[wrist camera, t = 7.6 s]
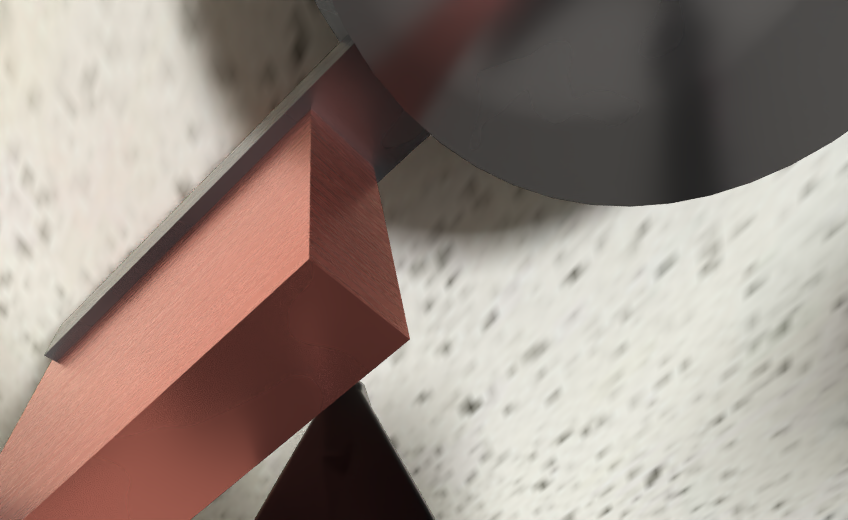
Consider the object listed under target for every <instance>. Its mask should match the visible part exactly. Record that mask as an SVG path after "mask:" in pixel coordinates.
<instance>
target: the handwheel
mask: <svg viewBox="0 0 848 520" xmlns="http://www.w3.org/2000/svg"><path fill="white" fill-rule="evenodd" d="M331 1H332V3H333V5H334V7H335V9H336V11H337V13H338V15H339V17H340V19H341V21H342V24H343V26H344V28H345V30H346V31H347V33H348V35H347V36H346V37H345V38H344V39H343V40H342V41H341V42H340V43H339V44H338V45H337V46H336V47H335V48H334V49H333V50H332V51H331V52H330V53H329V54H328V55H327V56H326V57H325V58H324V59H323V60H322V61H321V62H320V63H319V64H318V65H317V66H316V67H315V68H314V69H313V70H312V71H311V72H310V73H309V74H308V75H307V76H306V77H305V78H304V79H303V80H302V81H301V82H300V83H299V84H298V85H297V86H296V87H295V88H294V89H293V90H292V91H291V92H290V93H289V94H288V95H287V96H286V97H285V98H284V99H283V100H282V101H281V103H280V104H279V105H278V106H277V107H276V108H275V109H274V110H273V111H272V112H271V113H270V114H269V115H268V116H267V117H266V118H265V119H264V120H263V121H262V122H261V123H260V124H259V125H258V126H257V127H256V128H255V129H254V130H253V131H252V132H251V133H250V134H249V135H248V136H247V137H246V138H245V139H244V140H243V141H242V142H241V143H240V144H239V145H238V146H237V147H236V148H235V149H234V150H233V151H232V152H231V153H230V154H229V155H228V156H227V157H226V158H225V159H224V160H223V161H222V162H221V163H220V164H219V165H218V166H217V167H216V168H215V169H214V170H213V172H212V173H211V174H210V175H209V176H208V177H207V178H206V179H205V180H204V181H203V182H202V183H201V184H200V185H199V186H198V187H197V188H196V189H195V190H194V191H193V192H192V193H191V194H190V195H189V196H188V197H187V198H186V199H185V200H184V201H183V202H182V203H181V204H180V205H179V206H178V207H177V208H176V209H175V210H174V211H173V212H172V213H171V214H170V215H169V216H168V217H167V218H166V219H165V220H164V221H163V222H162V223H161V224H160V225H159V226H158V227H157V228H156V229H155V230H154V231H153V232H152V233H151V234H150V235H149V236H148V237H147V238H146V239H145V240H144V242H143V243H142V244H141V245H140V246H139V247H138V248H137V249H136V250H135V251H134V252H133V253H132V254H131V255H130V256H129V257H128V258H127V259H126V260H125V261H124V262H123V263H122V264H121V265H120V266H119V267H118V268H117V269H116V270H115V271H114V272H113V273H112V274H111V275H110V276H109V277H108V278H107V279H106V280H105V281H104V282H103V283H102V284H101V285H100V286H99V287H98V288H97V289H96V290H95V291H94V292H93V293H92V294H91V295H90V296H89V297H88V298H87V299H86V300H85V301H84V302H83V303H82V304H81V305H80V306H79V307H78V308H77V309H76V311H75V312H74V313H73V314H72V315H71V316H70V317H69V318H68V319H67V320H66V321H65V322H64V323H63V324H62V325H61V327H60V328H59V330H58V332H57V334H56V335H55V337H54V339H53V341H52V342H51V344H50V346H49V348H48V349H47V351H46V353H45V356H46V357H48V358H50V359H52V361H51V363H50V365H49V366H48V368H47V370H46V372H45V374H44V376H43V377H42V379H41V381H40V383H39V385H38V386H37V388H36V390H35V392H34V394H33V396H32V397H31V399H30V401H29V403H28V405H27V406H26V408H25V410H24V412H23V414H22V416H21V417H20V419H19V421H18V423H17V425H16V427H15V428H14V430H13V432H12V434H11V436H10V437H9V439H8V441H7V443H6V445H5V447H4V448H3V450H2V452H1V454H0V520H191V519H192V518H193V517H194V516H195V515H197V514H198V513H199V512H200V511H202V510H203V509H204V508H205V507H206V506H208V505H209V504H210V503H211V502H212V501H214V500H215V499H216V498H217V497H219V496H220V495H221V494H222V493H223V492H225V491H226V490H227V489H228V488H230V487H231V486H232V485H233V484H234V483H236V482H237V481H238V480H239V479H240V478H242V477H243V476H244V475H245V474H247V473H248V472H249V471H250V470H251V469H253V468H254V467H255V466H256V465H258V464H259V463H260V462H261V461H262V460H264V459H265V458H266V457H267V456H268V455H270V454H271V453H272V452H273V451H275V450H276V449H277V448H278V447H279V446H281V445H282V444H283V443H284V442H286V441H287V440H288V439H289V438H290V437H292V436H293V435H294V434H295V433H296V432H298V431H299V430H300V429H301V428H303V427H304V426H305V425H306V424H307V423H309V422H310V421H311V420H312V419H313V418H315V417H316V416H317V415H318V414H320V413H321V412H322V411H323V410H324V409H326V408H327V407H328V406H329V405H331V404H332V403H333V402H334V401H335V400H337V399H338V398H339V397H340V396H341V395H343V394H344V393H345V392H346V391H348V390H349V389H350V388H351V387H352V386H354V385H355V384H356V383H357V382H359V381H360V380H361V379H362V378H363V377H365V376H366V375H367V374H368V373H369V372H371V371H372V370H373V369H374V368H376V367H377V366H378V365H379V364H380V363H382V362H383V361H384V360H385V359H387V358H388V357H389V356H390V355H391V354H393V353H394V352H395V351H396V350H397V349H399V348H400V347H401V346H402V345H404V344H405V343H406V342H407V341H408V340H410V337H409V333H408V328H407V323H406V318H405V313H404V309H403V304H402V299H401V294H400V290H399V285H398V280H397V275H396V271H395V266H394V261H393V256H392V252H391V247H390V242H389V237H388V233H387V228H386V223H385V218H384V213H383V209H382V204H381V199H380V194H379V190H378V185H377V183H378V182H379V181H380V180H381V179H382V178H383V177H384V176H385V175H386V174H388V173H389V172H390V171H391V170H392V169H393V168H394V167H395V166H396V165H397V164H398V163H400V162H401V161H402V160H403V159H404V158H405V157H406V156H407V155H408V154H409V153H410V152H411V151H413V150H414V149H415V148H416V147H417V146H418V145H419V144H420V143H421V142H422V141H423V140H425V139H426V138H427V137H428V136H429V135H430V134H431V135H432V136H433V137H434V138H436V139H437V140H438V141H439V142H440V143H442V144H443V145H445V146H446V147H447V148H449V149H450V150H452V151H453V152H455V153H456V154H458V155H459V156H461V157H462V158H464V159H465V160H467V161H468V162H470V163H471V164H472V165H474V166H475V167H477V168H479V169H481V170H484V171H486V172H488V173H490V174H492V175H494V176H496V177H498V178H500V179H502V180H504V181H506V182H508V183H510V184H512V185H515V186H518V187H521V188H524V189H527V190H530V191H533V192H536V193H539V194H542V195H545V196H548V197H551V198H557V199H562V200H568V201H573V202H579V203H584V204H590V205H608V206H629V207H631V206H644V205H656V204H669V203H675V202H680V201H685V200H690V199H695V198H700V197H705V196H710V195H713V194H717V193H720V192H723V191H726V190H729V189H732V188H735V187H739V186H742V185H745V184H748V183H751V182H753V181H756V180H758V179H760V178H762V177H765V176H767V175H769V174H772V173H774V172H776V171H778V170H781V169H783V168H785V167H788V166H790V165H792V164H794V163H796V162H797V161H799V160H801V159H803V158H804V157H806V156H808V155H810V154H812V153H813V152H815V151H817V150H819V149H821V148H822V147H824V146H826V145H828V144H829V143H831V142H833V141H834V140H836V139H837V138H839V137H840V136H841V135H843V134H844V133H846V132H847V131H848V0H331Z"/></svg>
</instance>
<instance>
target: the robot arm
mask: <svg viewBox="0 0 848 520" xmlns="http://www.w3.org/2000/svg"><path fill="white" fill-rule="evenodd" d="M254 520H436V519H435V518H434V516H433V514H432V512H431V511H430V509H429V507H428V505H427V504H426V502H425V500H424V498H423V497H422V495H421V493H420V492H419V490H418V488H417V486H416V485H415V483H414V481H413V479H412V478H411V476H410V474H409V472H408V471H407V469H406V467H405V465H404V464H403V462H402V460H401V458H400V457H399V455H398V453H397V451H396V450H395V448H394V446H393V444H392V443H391V441H390V439H389V437H388V436H387V434H386V432H385V430H384V429H383V427H382V425H381V423H380V422H379V420H378V418H377V416H376V415H375V413H374V411H373V409H372V408H371V404H370V401H369V398H368V395H367V392H366V388H365V386H364V384H363V383H362V382H360V381H359V382H357V383H356V384H355V385H354V386H352V387H351V388H350V389H349V390H348V391H346V392H345V393H344V394H343V395H341V396H340V397H339V398H338V399H337V400H335V401H334V402H333V403H332V404H331V405H329V406H328V407H327V408H326V409H324V410H323V411H322V412H321V413H320V414H318V415H317V416H316V417H315V418H313V420H312V421H311V423H310V425H309V426H308V428H307V430H306V432H305V433H304V435H303V437H302V438H301V440H300V442H299V444H298V445H297V447H296V449H295V450H294V452H293V454H292V456H291V457H290V459H289V461H288V462H287V464H286V466H285V468H284V469H283V471H282V473H281V475H280V476H279V478H278V480H277V481H276V483H275V485H274V487H273V488H272V490H271V492H270V493H269V495H268V497H267V499H266V500H265V502H264V504H263V505H262V507H261V509H260V511H259V512H258V514H257V516H256V517H255V519H254Z"/></svg>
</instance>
